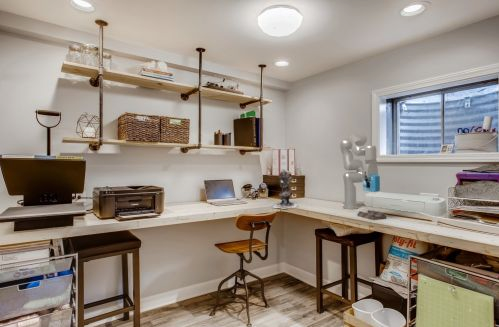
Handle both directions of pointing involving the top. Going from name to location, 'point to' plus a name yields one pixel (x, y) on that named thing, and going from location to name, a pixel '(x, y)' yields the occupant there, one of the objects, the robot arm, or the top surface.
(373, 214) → the display riser
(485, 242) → the top surface
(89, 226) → the top surface
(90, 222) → the top surface
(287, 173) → the dark grey statue
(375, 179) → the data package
